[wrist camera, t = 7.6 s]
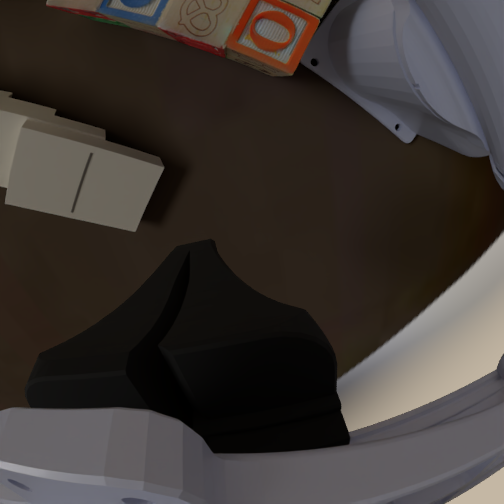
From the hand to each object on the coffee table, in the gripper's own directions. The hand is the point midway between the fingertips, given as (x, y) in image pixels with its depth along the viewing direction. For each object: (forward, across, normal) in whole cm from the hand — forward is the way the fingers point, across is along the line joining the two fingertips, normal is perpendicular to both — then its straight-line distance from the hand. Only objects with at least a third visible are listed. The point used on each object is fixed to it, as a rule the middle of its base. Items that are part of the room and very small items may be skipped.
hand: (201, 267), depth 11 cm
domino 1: (+10, +4, 0) cm, 11 cm away
